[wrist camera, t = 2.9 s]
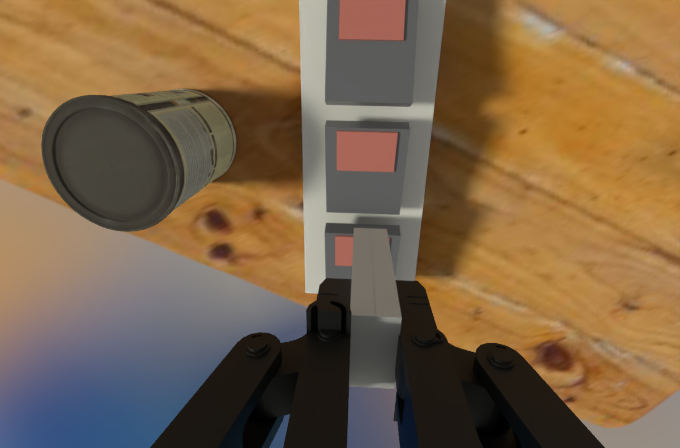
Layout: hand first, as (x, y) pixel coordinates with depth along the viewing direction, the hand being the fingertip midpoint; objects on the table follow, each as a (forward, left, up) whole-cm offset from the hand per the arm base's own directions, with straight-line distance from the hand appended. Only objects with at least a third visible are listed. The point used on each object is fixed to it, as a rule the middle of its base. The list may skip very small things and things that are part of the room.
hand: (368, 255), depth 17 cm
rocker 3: (+9, 0, -18) cm, 20 cm away
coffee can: (-1, -19, -25) cm, 31 cm away
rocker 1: (-10, 0, -18) cm, 20 cm away
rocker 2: (0, 0, -18) cm, 18 cm away
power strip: (-2, 0, -24) cm, 25 cm away
